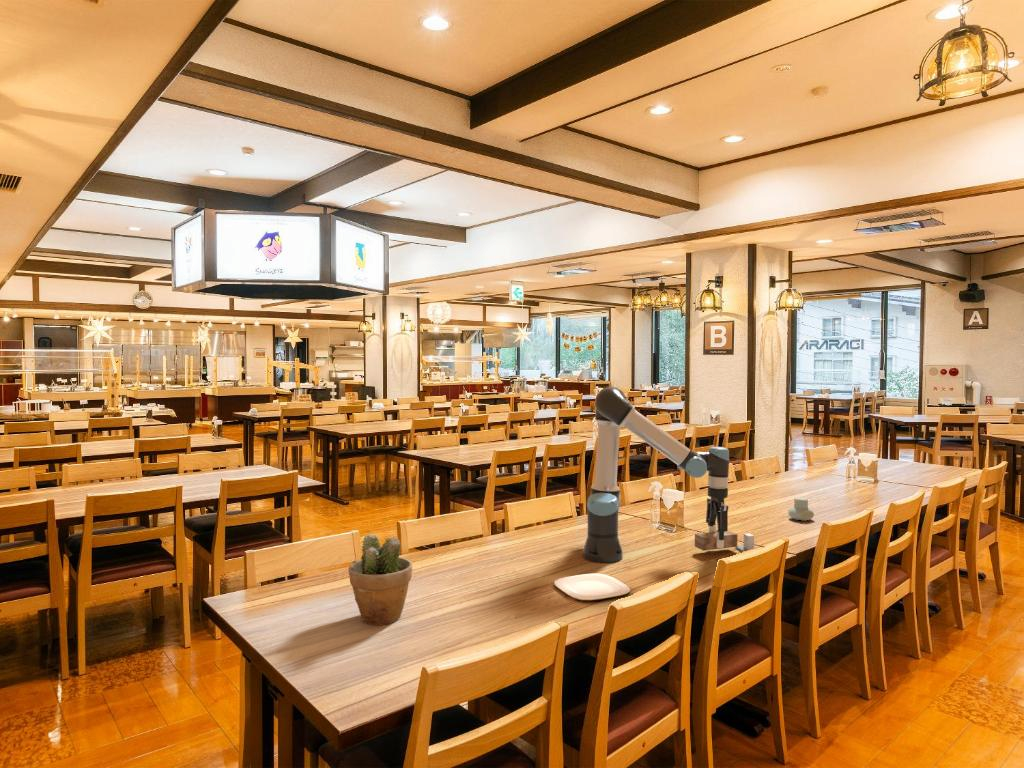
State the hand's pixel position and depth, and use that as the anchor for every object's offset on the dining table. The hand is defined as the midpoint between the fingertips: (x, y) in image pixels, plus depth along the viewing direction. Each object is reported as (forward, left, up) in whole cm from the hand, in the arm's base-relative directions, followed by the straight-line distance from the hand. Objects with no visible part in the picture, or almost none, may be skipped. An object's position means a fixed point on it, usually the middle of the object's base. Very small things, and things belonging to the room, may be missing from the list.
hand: (715, 545), depth 247 cm
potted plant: (-125, -46, -3) cm, 134 cm away
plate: (-58, -32, -4) cm, 67 cm away
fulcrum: (+14, 0, -3) cm, 14 cm away
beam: (0, 0, -1) cm, 1 cm away
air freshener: (+63, +43, -3) cm, 76 cm away
